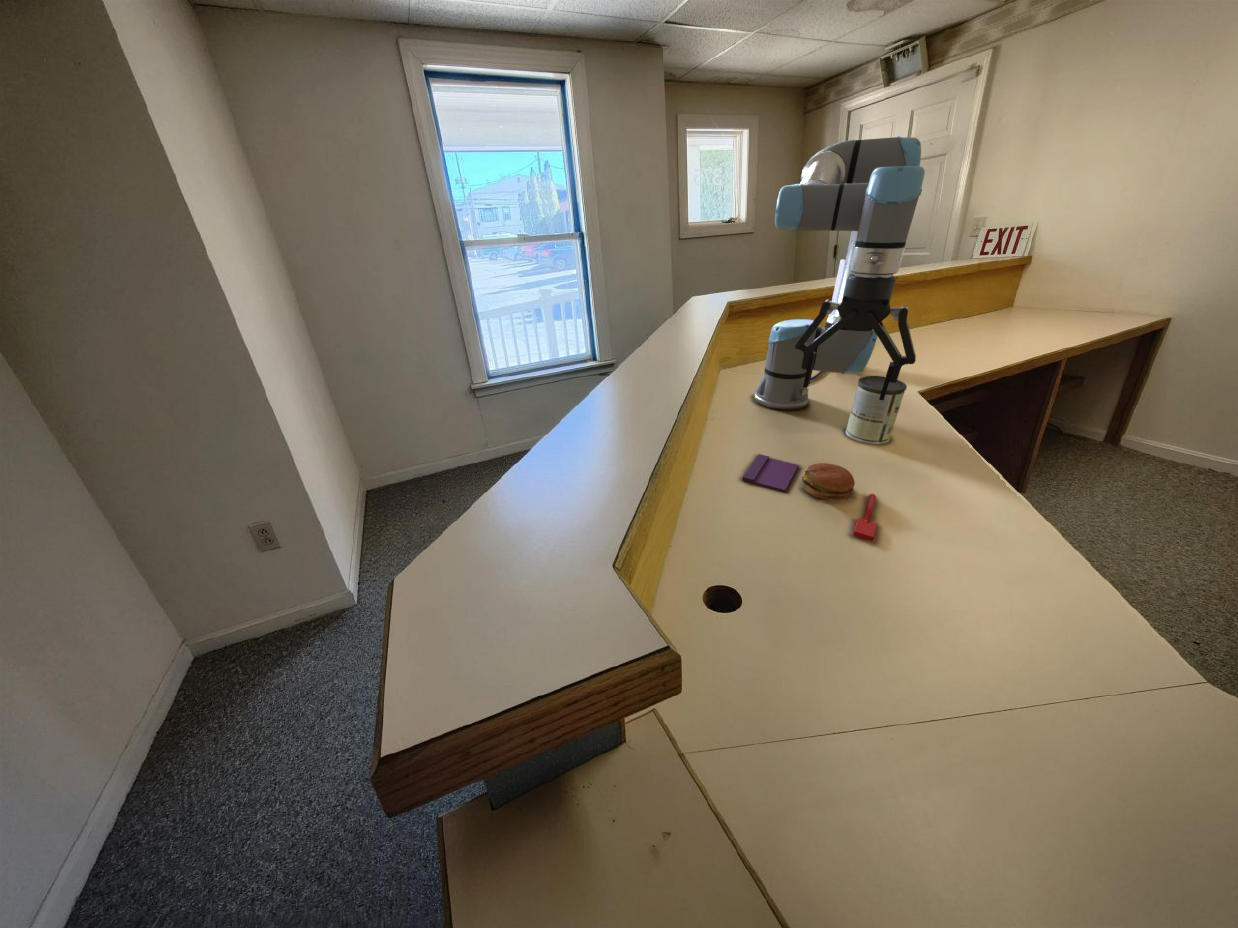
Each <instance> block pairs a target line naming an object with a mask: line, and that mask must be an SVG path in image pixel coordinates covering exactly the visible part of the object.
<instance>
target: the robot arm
mask: <svg viewBox="0 0 1238 928" xmlns="http://www.w3.org/2000/svg"><path fill="white" fill-rule="evenodd" d="M921 158H922V144H921V141H920V139H919V138H917V137H913V136H912V137H910V136H908V137H906V136H905V137H902V136H895V137H893V136H891V137H880V138H868V139H867V138H866V139H848V140H844V141H839V142H837V143H834V144H831V145H829V146H827V147H824V148H823V149H821V150H819V151H818V152H816V153H815V154H814V155H813V156H812V157H810V158H809V160H807V162H806V163H805V165H804V167H803V169H802V172H801V175H800V183H794V184H789V185H783V186H782V187H781V188H780V190H779V192H778V196H777V201H776V206H775V212H774V213H775V215H774V226H775V228H776V229H777V230H780V231H790V232H797V231H798V232H799V231H800V232H801V231H803V232H805V231H806V232H808V231H810V232H811V231H814V232H815V231H817V232H818V231H820V232H821V231H822V232H823V231H825V232H827V231H829V232H830V231H831V232H837V231H838V232H850V236H849V241H848V247H847V251H846V256H845V259H844V260H845V264H844V269H843V274H842V278H841V283H840V287H839V292H838V297H837V301H836V302H832V299H825V300H824V302H822V304H821V306H820V309H819V312H818V315H816V317H815V318H814V319H807V318H798V319H797V318H796V319H789V320H783V321H779V322H777V323H775V324H774V325H773V326H772V327H771V330H770V333H769V338H768V341H767V342H768V346H767V353H766V358H765V365H764V372H763V375H762V377H761V379H760V380H759V383H758V385H757V386H756V389H755V391H754V396H753V399H754V401H755V402H756V403H757V404H759V405H761V406H763V407H766V408H769V409H774V410H779V411H780V410H783V411H793V410H795V411H796V410H799V409H803V408H805V407H806V406H807V405H808V401H809V389H810V388H808V387H809V386H810V384H811V381H813V380H815V379H816V378H818V377H819V376H820V375H821V374H823V372H828V373H836V374H841V375H859V374H861V373H862V372H863V371H864V370H865V369H866V367H867V365H868V363H869V361H870V359H871V357H872V354H873V352H874V350H875V346H876V343H877V339H878V340H879V341H880V342H881V344H882V346H883V348H884V349H885V351H886V353H887V354H888V356H889V358H890V359H891V361H889V365H888V368H887V371H886V374H885V377H886V378H885V381H884V384H883V388H882V391H881V394H880V398H879V400H884V397H885V394H886V391H887V388H888V384H889V382H892V383H895V382H896V381H897V380H899V376H900V373H901V369H902V367H903V366H905V365H914V364H915V363H916V360H917V355H916V351H915V346H914V342H913V339H912V334H911V330H910V327H909V323H908V314H909V306H908V305H902V306H900V307H899V306H898V307H897V306H896V307H892V306H891V299H892V296H893V292H894V288H895V285H896V281H897V278H896V276H895V275H896V274H897V273H898V272H899V271H900V267H901V263H902V261H903V256H904V253H905V249H906V244H907V240H908V236H909V232H910V229H911V226H912V222H913V220H914V215H915V212H916V209H917V205H918V202H919V198H920V196H921V195H922V191H923V189H922V187H923V182H924V178H925V174H926V173H925V168H924V167H923V166H921ZM833 310H834V314H833V315H832V316H831V317H830V318H829V319H828V318H827V319H826V320H825V324H824V327H823V326H820V324H821V323H822V322H823V321H824V319H825V318H826V316H827V315H829V314H831V313H832V312H833ZM888 316H892V317H893V320H894V321H896V322H897V327H898V330H899V335H900V337H901V338H900V339H901V343H902V347H903V350H904V353H905V355H902V354H901V352H900V350H899V349H898V347H897V345H896V343H895V342H894V340H893V338H892V336H891V335H890V334H889V332H888V330H887V329H886V327H885V323H884V322H883V321H884V320H885V319H887V317H888ZM813 371H817V372H818V373H817V374H815V375H814V376H812V375H813Z"/></svg>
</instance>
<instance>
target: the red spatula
mask: <svg viewBox="0 0 1238 928" xmlns="http://www.w3.org/2000/svg"><path fill="white" fill-rule="evenodd" d="M876 498H877V496H876V494H874V493H869V495H868V498H867V502H866V508H865V511H864V515H863V516H864V517H863V518H861V517H857V520H856V523H855V527H854V531H853V534H852V536H853V537H857V538H859V539H862V540H866V541H868V542H869V541H870V542H874V540H875V536H876V532H877V525H878V522H875V521H872V519H873V518H872V517H873V513H874V509H875V502H876Z"/></svg>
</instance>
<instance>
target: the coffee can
mask: <svg viewBox="0 0 1238 928" xmlns="http://www.w3.org/2000/svg"><path fill="white" fill-rule="evenodd" d="M885 378H886V376H881V375H865V376H862V377H860V378H859V379H858V380H857V387H856V391H855V394H854V398H853V401H852V405H851V410H850V414H849V417H848V422H847V425H846V429H845V431H844V432H845V434H846V436H847V437H849V438H850V439H852V440H854V441H857V442H860V443H863V444H868V445H869V444H870V445H883V444H886V443H888V442H889V441H890V439H891V435H892V432H893V429H894V426H895V423H896V421H897V416H898V414H899V410H900V407H901V404H902V401H903V398H904V394H905V391H906V390H907V388H908V386H907V383H905V382H903V381H901V380H899V379H897V381H896V382H895V383H892V382H889V384H888V388H887V391H886V394H885V397H884V400H879V398H880V394H881V391H882V388H883V384H884V381H885Z"/></svg>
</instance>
